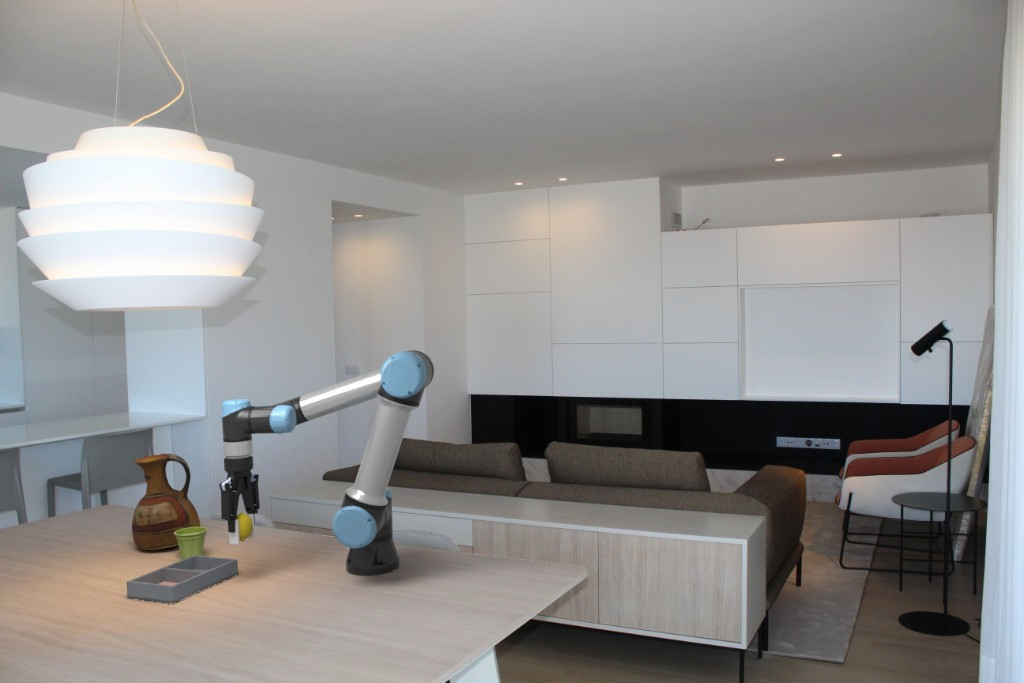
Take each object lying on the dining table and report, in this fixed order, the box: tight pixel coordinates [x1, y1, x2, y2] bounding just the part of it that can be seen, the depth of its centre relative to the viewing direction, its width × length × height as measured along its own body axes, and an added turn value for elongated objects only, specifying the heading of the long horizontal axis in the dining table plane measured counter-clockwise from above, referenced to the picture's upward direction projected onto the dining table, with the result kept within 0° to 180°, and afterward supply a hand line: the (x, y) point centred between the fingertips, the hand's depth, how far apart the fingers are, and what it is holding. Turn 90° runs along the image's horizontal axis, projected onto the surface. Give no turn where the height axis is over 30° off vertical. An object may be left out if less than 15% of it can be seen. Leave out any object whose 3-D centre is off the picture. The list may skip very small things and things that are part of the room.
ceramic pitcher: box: [131, 453, 201, 551], centre depth 262 cm, size 20×20×30 cm
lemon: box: [236, 512, 253, 543], centre depth 223 cm, size 6×6×8 cm
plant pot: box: [174, 526, 208, 561], centre depth 247 cm, size 9×9×9 cm
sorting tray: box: [126, 555, 239, 605], centre depth 221 cm, size 15×25×4 cm, turn 159°
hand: (242, 540), depth 223 cm, fingers closed on lemon, 5 cm apart
